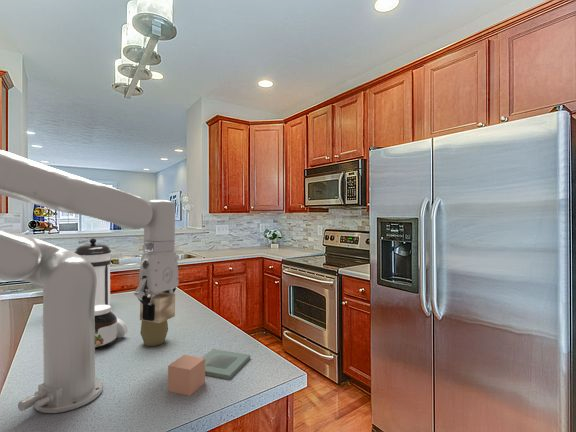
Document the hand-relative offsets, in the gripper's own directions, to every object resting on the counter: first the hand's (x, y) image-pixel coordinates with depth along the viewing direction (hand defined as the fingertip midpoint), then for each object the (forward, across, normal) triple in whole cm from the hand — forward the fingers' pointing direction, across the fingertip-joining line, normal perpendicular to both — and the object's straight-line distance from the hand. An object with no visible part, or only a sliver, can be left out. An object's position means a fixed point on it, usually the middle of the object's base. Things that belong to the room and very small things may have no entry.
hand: (157, 315), depth 85 cm
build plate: (+14, +8, -14) cm, 22 cm away
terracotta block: (+14, -4, -12) cm, 19 cm away
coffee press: (+14, +30, +58) cm, 67 cm away
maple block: (+1, 0, 0) cm, 1 cm away
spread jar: (+15, +9, +28) cm, 32 cm away
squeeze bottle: (+14, +14, +12) cm, 23 cm away
